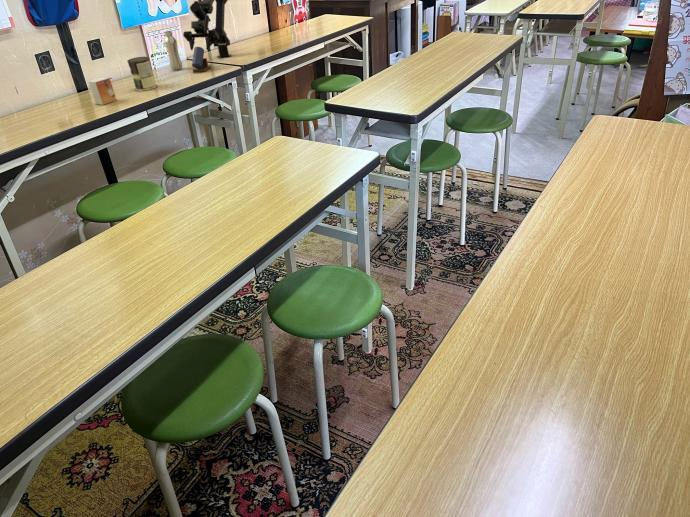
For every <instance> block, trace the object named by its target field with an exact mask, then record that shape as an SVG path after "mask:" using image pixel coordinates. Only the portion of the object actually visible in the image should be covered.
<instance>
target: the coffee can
mask: <svg viewBox="0 0 690 517" xmlns="http://www.w3.org/2000/svg"><path fill="white" fill-rule="evenodd" d="M126 62H127V64H128V67H129V71H130V74H131V78H132V80H133V84H134V87H135V90H136V91H137V92H138V91H139V92H143V91H150V90H153V89H156V88H157V83H156V79H155V76H154V73H153V69H152V64H151V61H150V57H149V56H137V57H132V58H129V59H127V61H126Z"/></svg>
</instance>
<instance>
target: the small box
mask: <svg viewBox="0 0 690 517" xmlns="http://www.w3.org/2000/svg"><path fill="white" fill-rule="evenodd" d="M88 85H89V88H90V91H91V95H92V97H93V99H94V103H95V105H102V106H103V105H106V104H109V103H112V102H116V101H117V96H116V93H115V91H114V88H113V84H112V81H111V78H110V77H100V78H99V77H98V78H96V79H92V80H89V81H88Z"/></svg>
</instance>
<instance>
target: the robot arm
mask: <svg viewBox="0 0 690 517" xmlns="http://www.w3.org/2000/svg"><path fill="white" fill-rule="evenodd" d="M214 2H215V27H214V28H212V29H210V27H209V24H210V22H211V21H212V19H211V18H210V15H212V14H213V11H214V6H213V5H214ZM227 2H228V0H201V1H199V0H194V1H193V3H192V4H191V5H190V6H189V10H190V11H191V13H192V15H193V16H194V17H195V18H196V19H197V20H195V21H194V20H193V21H190V29H193V31H194V32H195V33H193V32H192V31H191V30H187V31H186V30H185V31H183V34H182V36H183V37H184V39H185V41H187V42H188V44H189V48H190V51H194V48H195V47H194V46H195V44H196V38H197V39H198V38H201V39H202V38H207V42H206V45H205V49H206V50H209V49H210V48H211V46H212V45H213V47H215V48H216V47H217V51H218V55H217V57H218V58H220V59H224V58H229V57H232V54H230V52H229V48H228V47H229V46H231V40H230V38H229V37H228V36H227V32H226V31H225V9H226V8H225V7H226V3H227Z"/></svg>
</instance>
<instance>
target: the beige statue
mask: <svg viewBox="0 0 690 517" xmlns="http://www.w3.org/2000/svg"><path fill="white" fill-rule="evenodd" d="M164 36H165V38H164V45H165V48H166V50H167V53H168V59H169V67H170V69H171V70H173V71H179V70H181V69H183V62H182V60H181V57H180V53H179V47H178V40H177V39H176V38H175V37H174V36H173V32H172V31H171V30H167V31H164Z"/></svg>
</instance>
